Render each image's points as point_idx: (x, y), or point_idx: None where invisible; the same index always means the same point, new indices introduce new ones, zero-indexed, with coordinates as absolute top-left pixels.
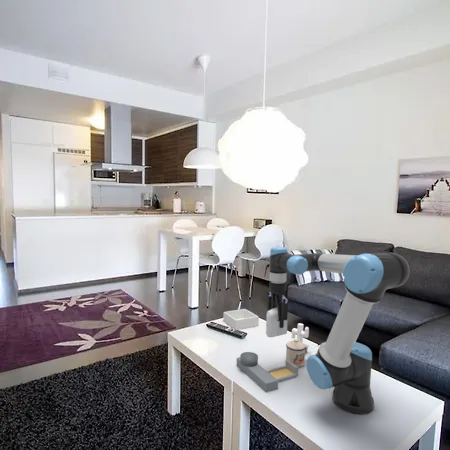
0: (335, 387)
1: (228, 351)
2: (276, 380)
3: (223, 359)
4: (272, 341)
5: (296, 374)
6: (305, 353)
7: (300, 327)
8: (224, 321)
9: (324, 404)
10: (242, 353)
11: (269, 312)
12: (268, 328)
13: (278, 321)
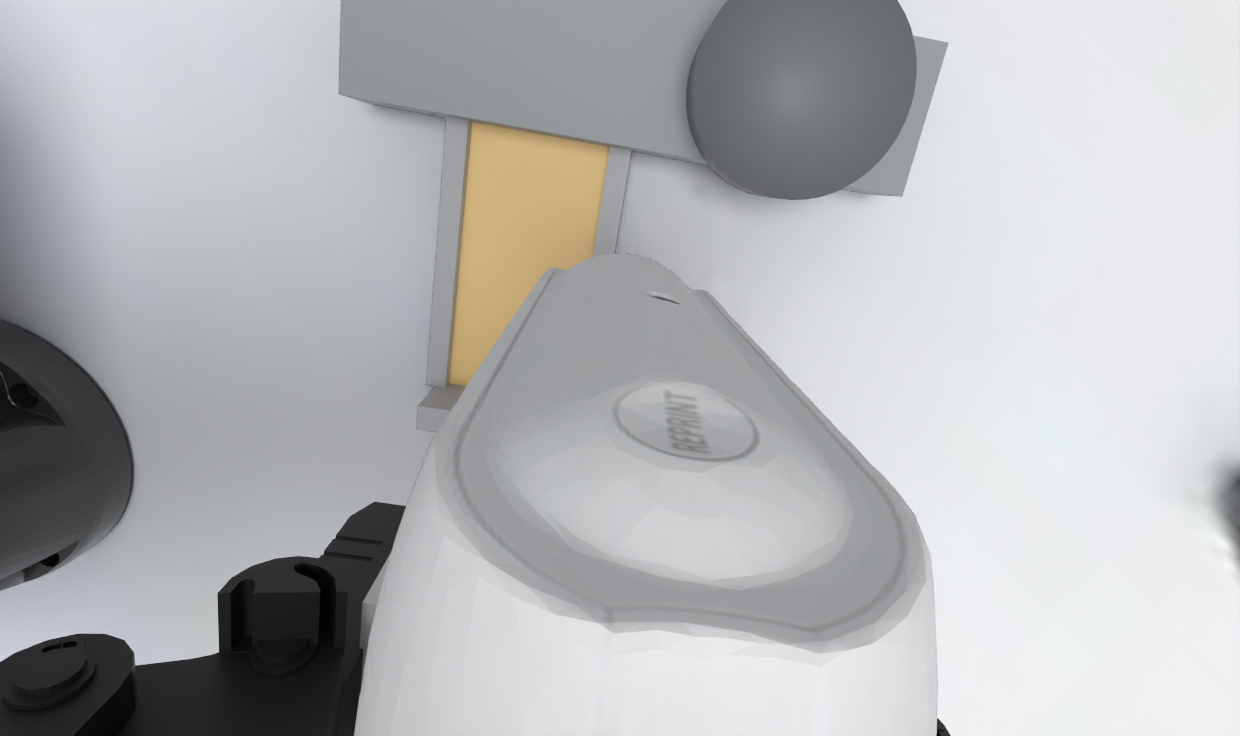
0: (17, 425)
1: (1164, 187)
2: (344, 75)
3: (1091, 19)
4: (974, 646)
5: (426, 383)
6: None
7: None
8: None
9: (39, 255)
10: (908, 55)
11: (601, 597)
12: (609, 280)
13: (372, 585)
